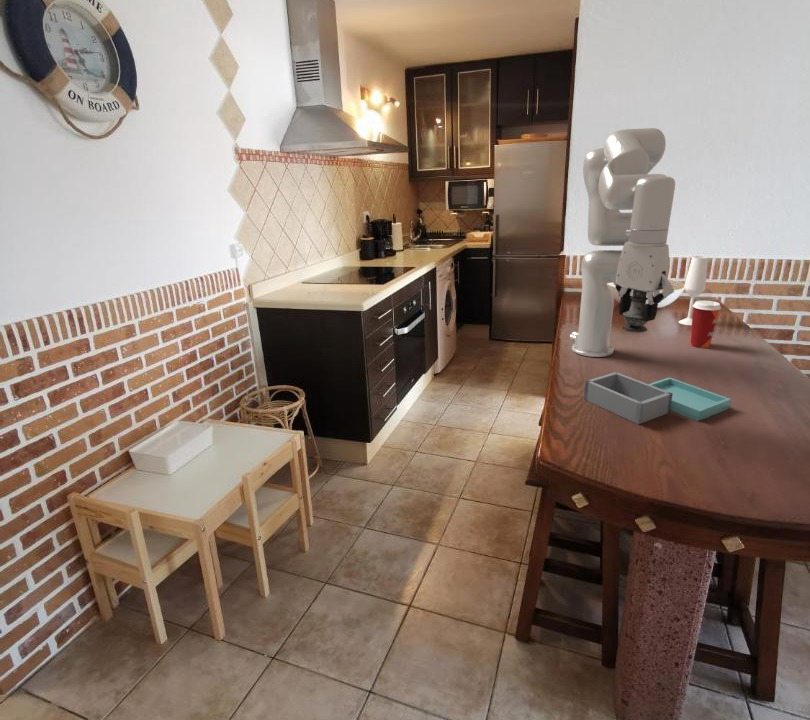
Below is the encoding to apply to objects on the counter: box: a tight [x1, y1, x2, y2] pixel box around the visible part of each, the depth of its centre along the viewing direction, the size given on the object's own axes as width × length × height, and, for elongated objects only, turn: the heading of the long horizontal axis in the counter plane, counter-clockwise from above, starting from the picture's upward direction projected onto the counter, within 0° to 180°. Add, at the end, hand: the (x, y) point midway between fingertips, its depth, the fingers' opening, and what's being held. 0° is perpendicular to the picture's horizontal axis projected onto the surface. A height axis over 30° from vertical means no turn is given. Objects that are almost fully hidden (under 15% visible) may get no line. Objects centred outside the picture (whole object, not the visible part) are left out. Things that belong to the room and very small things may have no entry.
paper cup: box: [689, 300, 722, 349], centre depth 158 cm, size 8×8×14 cm
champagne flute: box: [678, 255, 709, 326], centre depth 179 cm, size 7×7×24 cm
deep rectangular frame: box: [583, 371, 673, 425], centre depth 121 cm, size 16×11×5 cm
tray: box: [648, 377, 732, 422], centre depth 122 cm, size 16×12×2 cm
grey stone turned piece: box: [622, 289, 648, 334], centre depth 113 cm, size 6×6×12 cm
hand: (636, 316), depth 114 cm, fingers closed on grey stone turned piece, 5 cm apart
